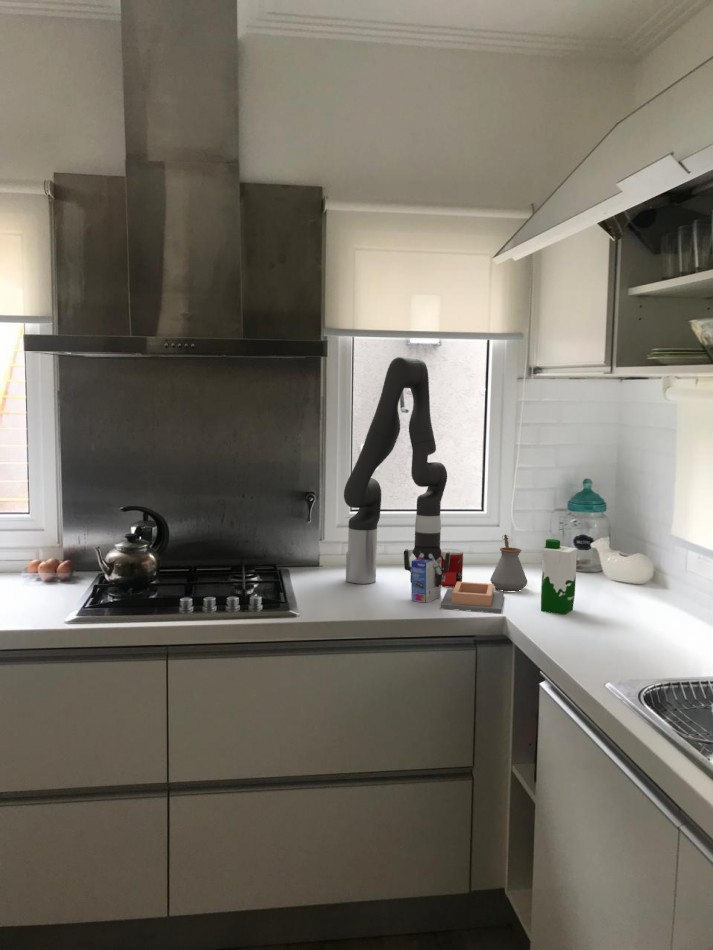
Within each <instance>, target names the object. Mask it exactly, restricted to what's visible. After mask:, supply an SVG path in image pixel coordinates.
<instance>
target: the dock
mask: <svg viewBox="0 0 713 950" xmlns="http://www.w3.org/2000/svg"><path fill="white" fill-rule="evenodd" d="M504 595H505V593H504V592H503V591H500V592H499V591H494V584H492V583H487V582H486V583H483V582H470V581H469V582H468V581H462V582H458V581H457V583H456V585H455V587H453V588H447V589H446V592H445V594H444V595H443V598H442V600H441V603H440V605H439V606H440V608H444V609H443V610H453V609H459V610H458V611H466V610H471V611H470V612H479V611H483V612H482V613H492V612H493V613H495V614H501V613H502V608H503V604H502V603H503V602H504Z"/></svg>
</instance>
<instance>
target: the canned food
mask: <svg viewBox="0 0 713 950" xmlns="http://www.w3.org/2000/svg"><path fill="white" fill-rule="evenodd" d="M440 549H441V551H442V552H450V553H451V555H450V563H449V570H448V572H447V573H443V574H442V583H441V585H442V586H441V587H445V586H448V587H447V588H455V585H456V583H457V581H458V582H463V571H464V570H463V568H464V567H463V566H464V564H463V563H464V550H461V549H457V548H440ZM440 557H441V568H442V569H443V568H444V565H445V559H443V556H442V555H441V556H440Z"/></svg>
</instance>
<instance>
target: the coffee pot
mask: <svg viewBox="0 0 713 950" xmlns="http://www.w3.org/2000/svg"><path fill="white" fill-rule="evenodd" d="M503 537H504V538H503ZM501 538H502V540H504V546H505V547H500V548H499V550H500V553H501V555H500V558H499V560H498V562H497V564H496V566H495V569H494V570H493V572H492V574H491V577H490V584H494V587H495V589H496V588H497V589H499V590H503V591H502V592H504V591H519V590H521V591H522V589H524V588H525V587H526V586H527V585H528V579H527V576H526V573H525V571H524V568H523V565H522V563H521V560H520V557H519V555H520V554H521V552H522V549H520V548H517V547H510V546H509V545H510V543H509V538H510V536H508V535H507V534H504V535H503V536H501ZM497 589H496V590H497ZM499 590H498V591H499ZM519 592H520V591H519Z"/></svg>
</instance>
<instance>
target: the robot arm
mask: <svg viewBox="0 0 713 950" xmlns="http://www.w3.org/2000/svg"><path fill="white" fill-rule="evenodd" d="M426 364H427V363H425V361H424V360H422V359H421V358H417V357H409V356H397V357H395V358H393V359H392V360H391V362H390V363H389V365H388V368H387V370H386V374H385V378H384V382H383V385H382V391H381V393H380V397H379V401H378V403H377V405H376V408H375V409H376V410H375V413H374V416H373V417H372V420H371V423H370V426H369V428H368V430H367V434H366V437H365V440H364V441H363V442H364V443H363V445H362V448H361V450H360V453H359V456H358V457H357V461H356V462H355V465H354V467H353V468H352V471H351V472H350V475H349V477H348V479H347V481H346V484H345V487H344V491H343V500H344V503H345V504H346V506H348V507H349V508H352V509H358V510H357V512H356V513H355V514H354V515H353V516H351V517H350V518H349V520H348V527H347V528H348V533H347V535H348V536H347V537H348V538H347V551H346V554H345V556H346V557H345V558H346V559H345V582H346V583H352V584H359V585H360V584H361V585H363V584H365V585H367V584H373V583H375V582H376V580H377V579H376V578H377V550H378V549H377V546H378V545H377V543H378V542H377V541H378V523H379V521H380V519H381V518H380V517H381V508H382V507H381V506H382V488H381V485H380V483H379V482H378V480H377V479H376V478H372V477H373V475H374V473H375V471H376V470H377V469H378V467H379V466H380V465H381V464H382V463H383V462H384V461H385V460H386V459H387V458H388V456H390V454H391V453H392V452H393V450H394V448H395V446H396V443H397V441H398V438H399V435H400V432H401V420H400V415H399V402H400V399H401V396H402V393H403V392H404V389H410V392H411V396H412V402H413V403H412V410H411V411H412V412H411V414H410V417H409V418H410V419H409V423H408V434H409V440H410V445H411V449H412V455H411V456H412V457H411V470H410V471H411V472H410V473H411V479H412V480H413V483H414V484H415V485H416V486H417V487H420V488H427V489H426V492H425V493H423V494H420V495H418V497H417V498H416V515H415V517H416V518H415V521H414V522H415V524H414V525H415V526H414V548H413V549H408V548H406V549H405V550H403V562H404V563H403V565H404V570H405V571H409V573H410V582H411V580H412V565H410V564H411V563H410V561H411V560H410V557H412V554H413V556H414V557H415V559H423V557H424V559H430V560H433V566H434V568H435V569H436V571H437V573H438V574H437V584H436V587H439V585H441V583H442V574H443V573H447V572H448V570H449V563H450V555H451V553H450V552H442V551H441V549H442V548H441V535H442V534H441V530H442V526H441V525H442V523H441V521H442V520H441V508H442V506H441V505H442V503H441V502H442V499H443V495H444V492H445V488H446V485H447V481H448V470H447V468H446V466H445V464H443V463H442V462H437V461H436V462H433V461H432V462H429V461H428V460H429V459H428V457H429V456H430V455H433V454H434V453H436V450H437V447H436V446H437V445H436V440H435V435H434V430H433V425H432V420H431V419H432V418H431V405H430V385H429V372H428V366H427V365H426ZM420 552H421V554H420ZM441 555H442V556H443V559H445V565H444V568H443V569H442V568H441V566H440V564H439V562H436V561H437V559H438V558H439V557H440V556H441Z"/></svg>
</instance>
